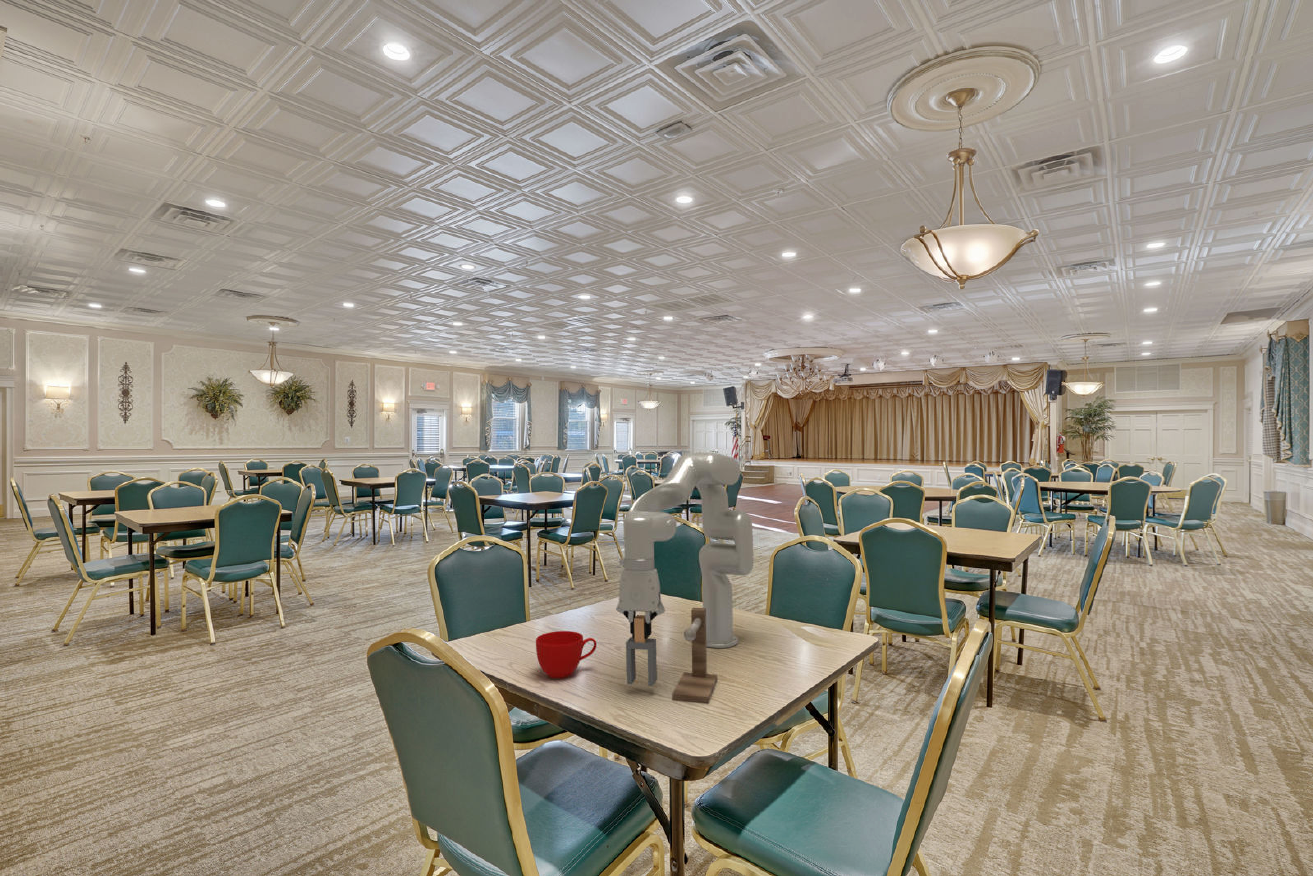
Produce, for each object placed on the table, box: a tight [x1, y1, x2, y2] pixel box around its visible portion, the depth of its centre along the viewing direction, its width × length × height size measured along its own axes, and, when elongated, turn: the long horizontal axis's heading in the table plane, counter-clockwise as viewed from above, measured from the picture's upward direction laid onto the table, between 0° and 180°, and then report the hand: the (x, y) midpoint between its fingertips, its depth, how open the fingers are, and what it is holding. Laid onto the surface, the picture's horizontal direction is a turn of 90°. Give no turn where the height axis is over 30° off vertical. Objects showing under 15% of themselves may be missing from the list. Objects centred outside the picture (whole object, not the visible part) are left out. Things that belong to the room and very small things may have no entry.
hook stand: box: [671, 607, 718, 704], centre depth 150 cm, size 16×9×19 cm, turn 166°
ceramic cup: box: [535, 630, 597, 679], centre depth 163 cm, size 13×17×10 cm
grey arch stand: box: [625, 614, 658, 687], centre depth 149 cm, size 7×4×16 cm, turn 76°
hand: (641, 636), depth 149 cm, fingers closed on grey arch stand, 2 cm apart
